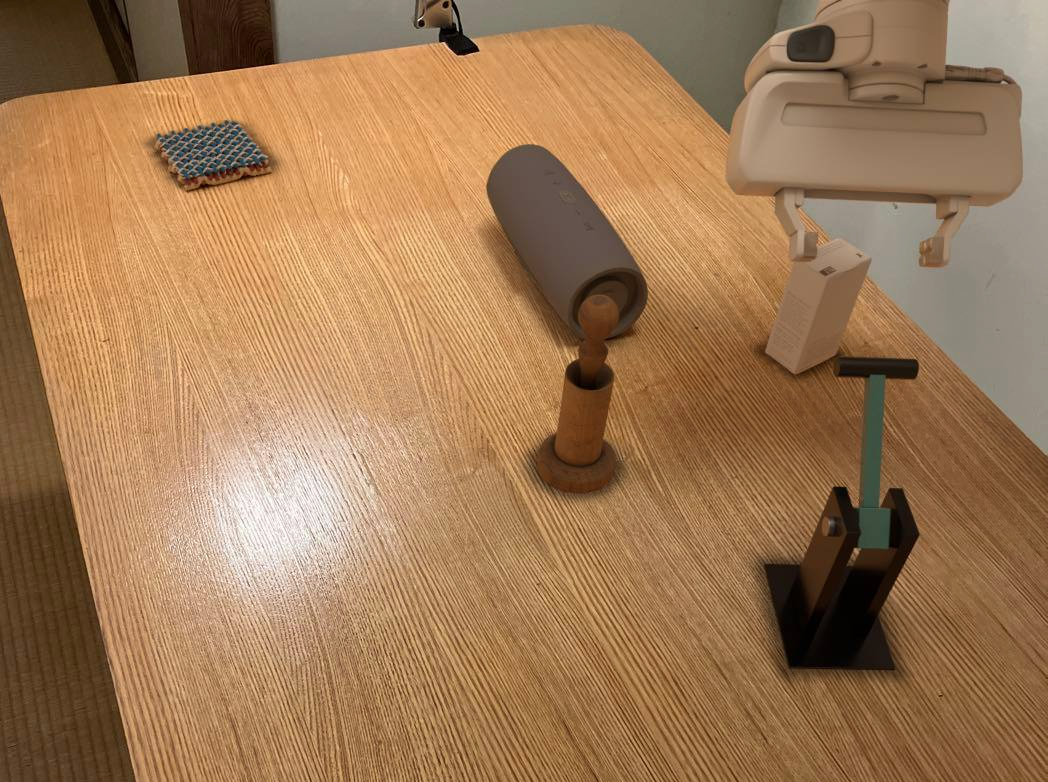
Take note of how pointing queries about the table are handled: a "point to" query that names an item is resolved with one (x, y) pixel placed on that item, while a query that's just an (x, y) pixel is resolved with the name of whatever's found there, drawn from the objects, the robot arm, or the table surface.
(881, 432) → the lever
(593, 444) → the mortar and pestle
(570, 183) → the bluetooth speaker
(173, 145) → the woven mat
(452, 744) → the table surface
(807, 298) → the cosmetic box
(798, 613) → the bracket
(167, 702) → the table surface
